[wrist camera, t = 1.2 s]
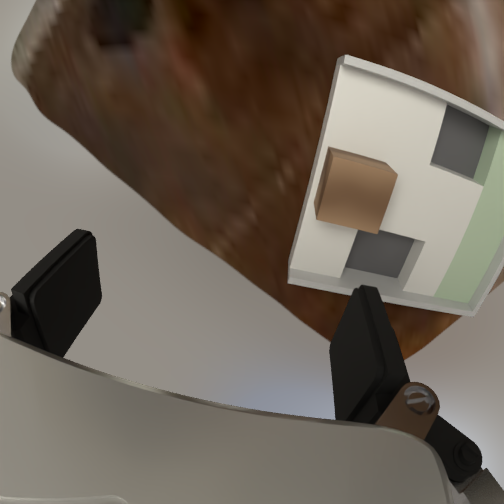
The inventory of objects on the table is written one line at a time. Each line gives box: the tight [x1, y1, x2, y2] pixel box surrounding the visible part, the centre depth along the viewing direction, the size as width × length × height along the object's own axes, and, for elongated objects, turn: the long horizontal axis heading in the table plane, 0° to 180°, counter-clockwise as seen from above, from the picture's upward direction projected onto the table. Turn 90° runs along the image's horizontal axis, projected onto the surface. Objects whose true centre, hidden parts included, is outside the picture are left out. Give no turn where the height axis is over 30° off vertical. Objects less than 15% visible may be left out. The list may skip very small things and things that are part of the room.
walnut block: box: [314, 146, 398, 234], centre depth 24 cm, size 5×5×4 cm
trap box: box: [288, 55, 504, 317], centre depth 26 cm, size 20×22×4 cm
